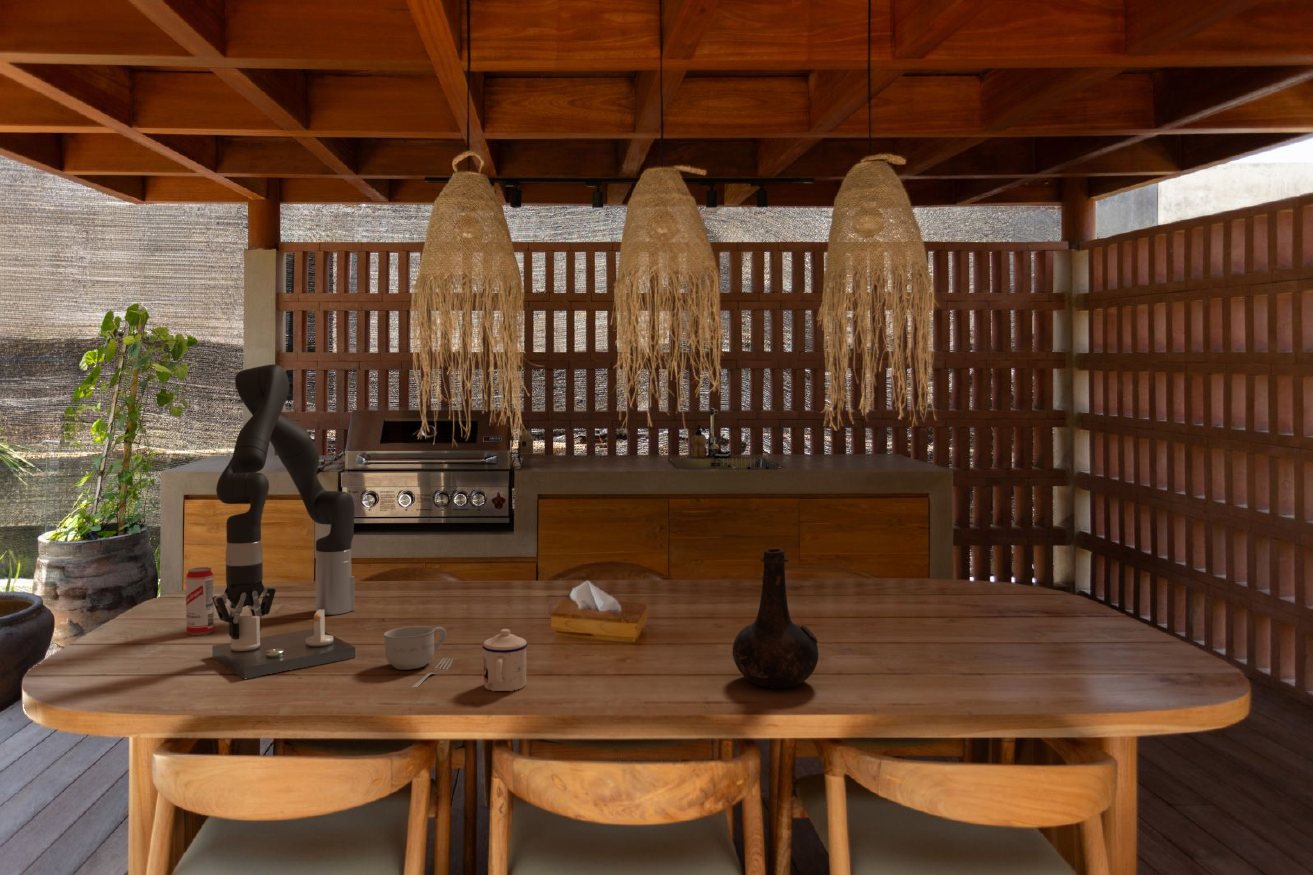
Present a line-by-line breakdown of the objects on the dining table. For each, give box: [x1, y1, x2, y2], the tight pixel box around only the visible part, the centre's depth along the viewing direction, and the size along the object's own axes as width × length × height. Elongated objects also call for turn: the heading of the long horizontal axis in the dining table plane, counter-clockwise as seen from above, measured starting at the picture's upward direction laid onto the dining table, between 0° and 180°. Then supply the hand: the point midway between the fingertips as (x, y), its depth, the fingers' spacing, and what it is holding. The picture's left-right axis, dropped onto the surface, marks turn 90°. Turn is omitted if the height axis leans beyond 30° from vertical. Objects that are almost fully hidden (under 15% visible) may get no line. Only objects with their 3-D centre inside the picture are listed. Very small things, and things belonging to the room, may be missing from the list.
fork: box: [411, 657, 454, 688], centre depth 187 cm, size 3×24×2 cm, turn 169°
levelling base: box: [211, 628, 356, 680], centre depth 203 cm, size 24×22×4 cm
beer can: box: [185, 566, 216, 636], centre depth 223 cm, size 6×6×16 cm
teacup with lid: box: [482, 628, 528, 692], centre depth 182 cm, size 12×9×12 cm
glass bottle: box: [732, 548, 819, 689], centre depth 187 cm, size 18×18×28 cm
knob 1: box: [230, 615, 261, 651], centre depth 201 cm, size 7×6×7 cm
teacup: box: [383, 625, 448, 670], centre depth 198 cm, size 14×11×8 cm
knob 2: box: [305, 609, 334, 646], centre depth 205 cm, size 7×6×7 cm
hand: (245, 636), depth 201 cm, fingers open, 4 cm apart
